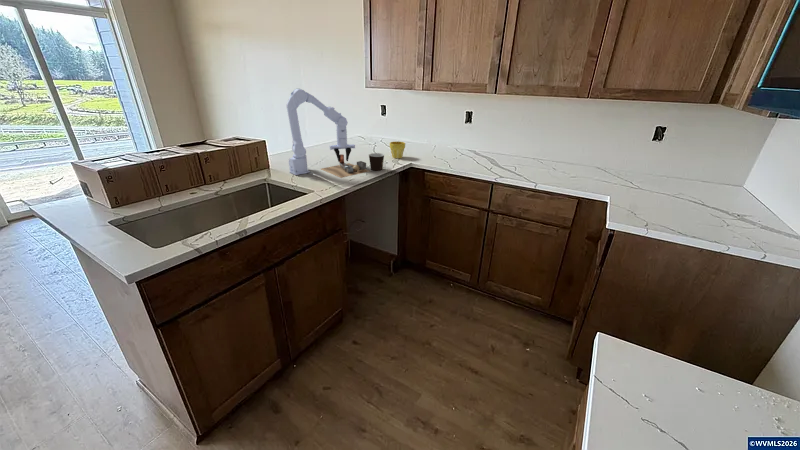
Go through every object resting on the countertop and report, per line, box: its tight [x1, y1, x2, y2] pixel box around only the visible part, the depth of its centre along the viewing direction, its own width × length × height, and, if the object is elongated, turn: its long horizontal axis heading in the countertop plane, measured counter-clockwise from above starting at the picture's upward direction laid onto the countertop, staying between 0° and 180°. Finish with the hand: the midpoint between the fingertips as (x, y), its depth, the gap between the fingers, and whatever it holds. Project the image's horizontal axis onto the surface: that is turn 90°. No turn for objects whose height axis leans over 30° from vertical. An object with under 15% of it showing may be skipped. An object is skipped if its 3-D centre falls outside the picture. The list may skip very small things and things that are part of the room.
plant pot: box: [389, 141, 406, 159], centre depth 223 cm, size 10×10×10 cm
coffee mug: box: [368, 152, 385, 172], centre depth 192 cm, size 12×9×10 cm
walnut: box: [353, 164, 360, 171], centre depth 187 cm, size 4×4×4 cm
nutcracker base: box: [320, 160, 371, 179], centre depth 189 cm, size 20×22×6 cm
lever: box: [338, 153, 353, 173], centre depth 190 cm, size 18×4×6 cm, turn 26°
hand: (343, 161), depth 197 cm, fingers open, 4 cm apart
